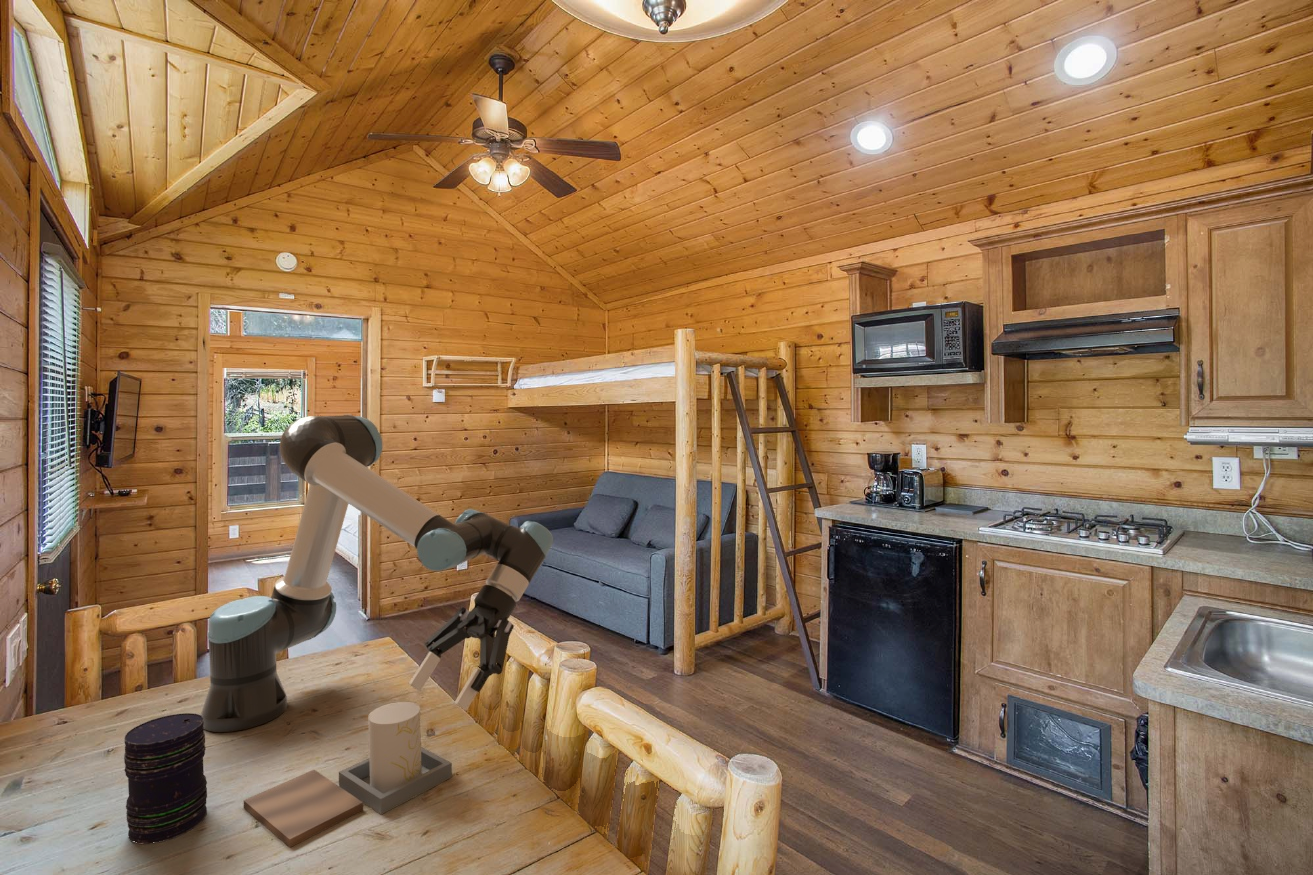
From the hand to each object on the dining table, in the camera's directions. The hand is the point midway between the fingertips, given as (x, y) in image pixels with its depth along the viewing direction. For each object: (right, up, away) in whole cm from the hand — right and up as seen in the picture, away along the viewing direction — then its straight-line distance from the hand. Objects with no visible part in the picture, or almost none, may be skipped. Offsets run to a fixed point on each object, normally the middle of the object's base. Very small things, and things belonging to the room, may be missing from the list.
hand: (436, 697), depth 115 cm
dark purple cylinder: (-36, -13, -16) cm, 41 cm away
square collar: (-5, -12, -5) cm, 14 cm away
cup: (-5, -13, -5) cm, 15 cm away
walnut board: (-17, -13, -12) cm, 25 cm away
